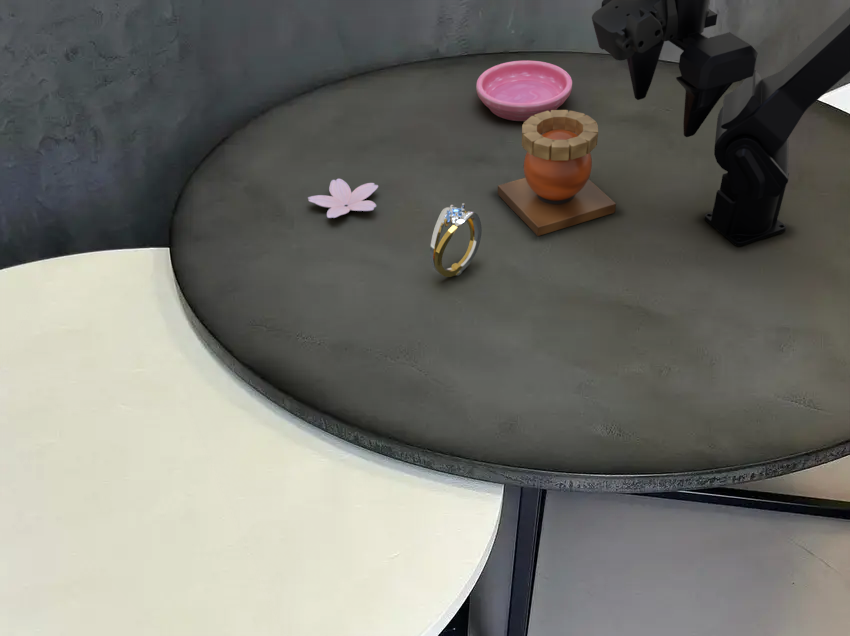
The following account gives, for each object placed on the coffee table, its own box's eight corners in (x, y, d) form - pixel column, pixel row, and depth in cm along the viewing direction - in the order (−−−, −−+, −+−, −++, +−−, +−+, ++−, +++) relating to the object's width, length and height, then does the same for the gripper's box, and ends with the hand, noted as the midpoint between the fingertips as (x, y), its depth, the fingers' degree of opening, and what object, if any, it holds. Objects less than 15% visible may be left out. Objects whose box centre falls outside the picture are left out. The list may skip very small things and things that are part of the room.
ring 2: (571, 116, 113) (572, 103, 111) (611, 147, 107) (612, 134, 106) (508, 135, 111) (508, 121, 109) (545, 168, 106) (546, 154, 104)
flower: (360, 239, 112) (359, 227, 111) (288, 220, 116) (286, 208, 115) (402, 196, 118) (402, 184, 117) (332, 179, 121) (330, 167, 120)
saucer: (575, 125, 126) (577, 101, 124) (478, 130, 127) (478, 106, 125) (565, 80, 135) (567, 57, 132) (474, 85, 135) (474, 62, 133)
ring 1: (443, 293, 105) (441, 227, 99) (423, 281, 106) (419, 215, 100) (490, 265, 108) (490, 200, 102) (469, 253, 109) (468, 188, 103)
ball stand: (571, 172, 119) (576, 103, 113) (615, 212, 113) (623, 142, 106) (497, 194, 117) (498, 125, 110) (537, 236, 111) (541, 166, 104)
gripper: (559, -58, 95) (552, 99, 107) (666, 10, 84) (645, 178, 95) (658, -82, 98) (641, 74, 109) (776, -19, 86) (742, 148, 98)
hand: (663, 116), depth 103 cm, fingers open, 9 cm apart
